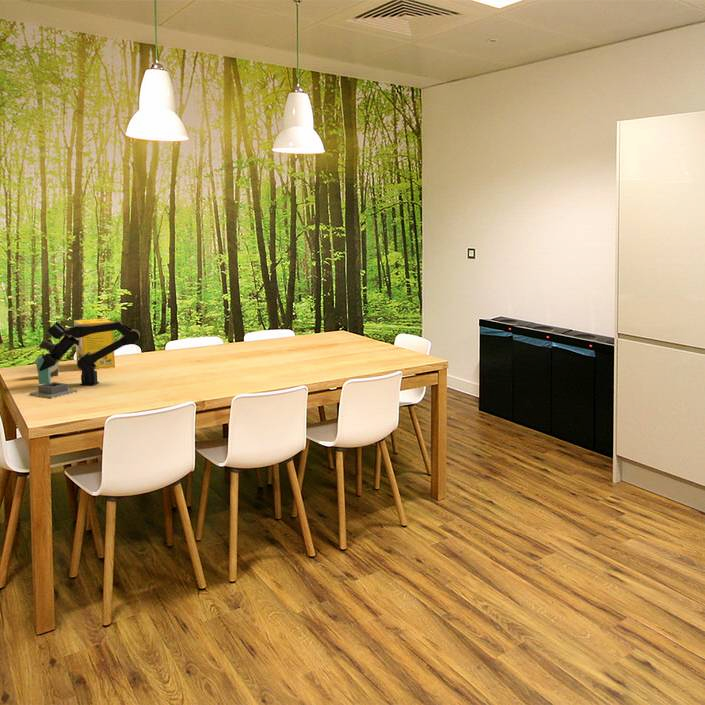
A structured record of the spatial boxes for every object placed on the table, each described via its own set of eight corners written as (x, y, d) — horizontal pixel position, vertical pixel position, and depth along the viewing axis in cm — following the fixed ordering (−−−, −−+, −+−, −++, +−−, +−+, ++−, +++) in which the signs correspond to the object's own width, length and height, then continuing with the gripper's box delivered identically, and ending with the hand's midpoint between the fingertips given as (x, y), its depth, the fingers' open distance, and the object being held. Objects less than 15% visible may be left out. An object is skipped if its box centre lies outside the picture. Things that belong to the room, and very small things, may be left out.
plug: (50, 381, 331) (48, 353, 329) (48, 383, 327) (46, 354, 325) (41, 382, 330) (38, 353, 328) (39, 384, 326) (36, 355, 324)
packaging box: (77, 365, 377) (73, 320, 373) (107, 362, 386) (104, 318, 381) (83, 370, 364) (80, 323, 359) (115, 367, 372) (112, 321, 368)
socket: (55, 388, 324) (55, 380, 323) (76, 391, 318) (76, 383, 317) (30, 394, 312) (29, 386, 311) (51, 398, 306) (50, 389, 305)
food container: (54, 373, 356) (53, 354, 354) (60, 375, 352) (59, 356, 350) (31, 377, 346) (29, 358, 344) (37, 379, 342) (35, 359, 341)
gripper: (54, 331, 334) (31, 354, 334) (45, 337, 316) (22, 362, 316) (72, 347, 337) (50, 369, 337) (65, 353, 320) (41, 378, 319)
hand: (40, 369), depth 327 cm, fingers closed on plug, 4 cm apart
